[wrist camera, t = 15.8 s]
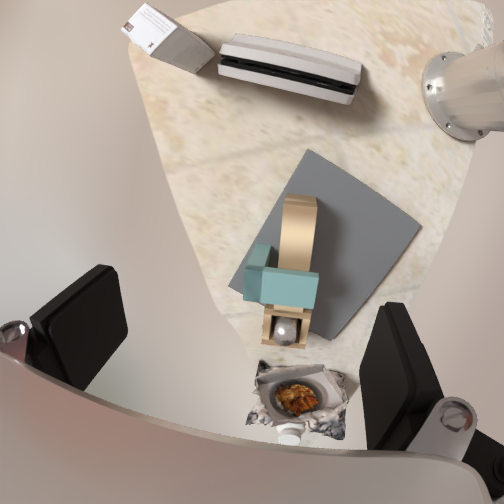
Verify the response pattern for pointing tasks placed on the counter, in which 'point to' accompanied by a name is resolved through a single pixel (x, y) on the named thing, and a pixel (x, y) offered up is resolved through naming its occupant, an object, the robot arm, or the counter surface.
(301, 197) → the wooden block with hole
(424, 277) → the counter surface
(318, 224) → the plate
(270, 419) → the meal
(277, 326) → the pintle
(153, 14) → the skincare box
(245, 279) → the bracket
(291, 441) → the supplement bottle
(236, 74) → the white slotted curved device
